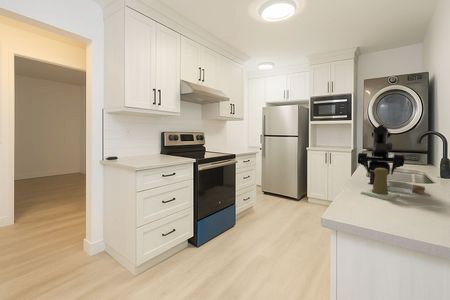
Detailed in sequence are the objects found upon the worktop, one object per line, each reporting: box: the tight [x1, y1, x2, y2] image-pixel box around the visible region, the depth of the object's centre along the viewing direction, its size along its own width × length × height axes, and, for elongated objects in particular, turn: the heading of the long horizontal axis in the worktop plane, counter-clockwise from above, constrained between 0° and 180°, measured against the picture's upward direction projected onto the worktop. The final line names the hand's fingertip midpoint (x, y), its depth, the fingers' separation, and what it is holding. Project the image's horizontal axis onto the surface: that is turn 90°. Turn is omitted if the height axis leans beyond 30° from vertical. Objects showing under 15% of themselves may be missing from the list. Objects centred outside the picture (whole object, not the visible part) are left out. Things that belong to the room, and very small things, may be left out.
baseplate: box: [360, 188, 401, 201], centre depth 100 cm, size 11×11×1 cm
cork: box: [372, 168, 389, 195], centre depth 100 cm, size 6×6×11 cm
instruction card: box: [387, 185, 417, 195], centre depth 108 cm, size 12×9×1 cm
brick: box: [411, 184, 426, 195], centre depth 104 cm, size 4×4×3 cm
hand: (379, 173), depth 106 cm, fingers open, 9 cm apart
